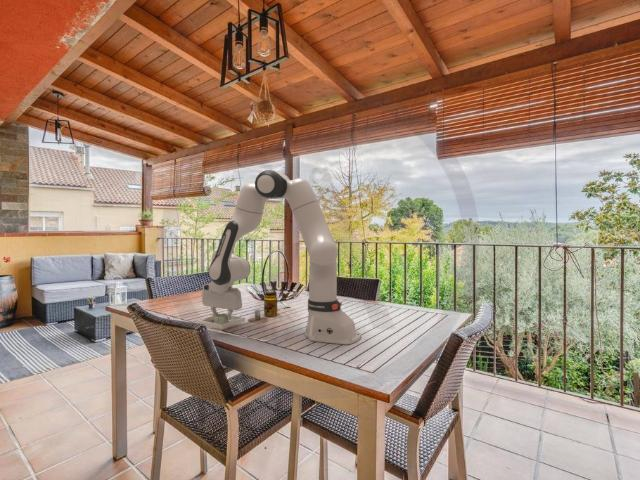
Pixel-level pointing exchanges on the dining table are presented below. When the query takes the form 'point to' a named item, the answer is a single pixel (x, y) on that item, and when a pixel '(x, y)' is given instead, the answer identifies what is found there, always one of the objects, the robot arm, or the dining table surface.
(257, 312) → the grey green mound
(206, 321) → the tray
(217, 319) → the ring
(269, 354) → the dining table surface
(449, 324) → the dining table surface
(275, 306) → the condiment
